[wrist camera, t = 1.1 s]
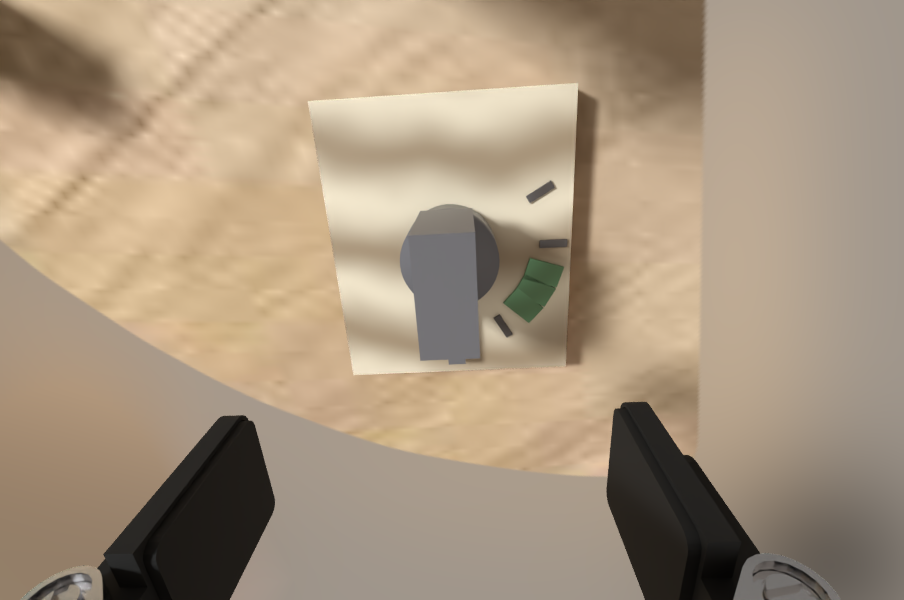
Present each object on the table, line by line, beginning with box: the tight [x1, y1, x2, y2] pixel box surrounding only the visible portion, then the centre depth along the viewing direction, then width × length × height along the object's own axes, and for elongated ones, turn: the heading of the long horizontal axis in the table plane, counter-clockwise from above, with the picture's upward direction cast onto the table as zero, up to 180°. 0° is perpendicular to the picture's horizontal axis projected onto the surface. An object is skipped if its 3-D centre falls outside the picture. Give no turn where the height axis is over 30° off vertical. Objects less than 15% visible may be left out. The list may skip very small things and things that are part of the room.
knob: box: [400, 204, 500, 365], centre depth 26 cm, size 11×6×9 cm, turn 3°
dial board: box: [308, 83, 578, 375], centre depth 30 cm, size 19×16×2 cm
